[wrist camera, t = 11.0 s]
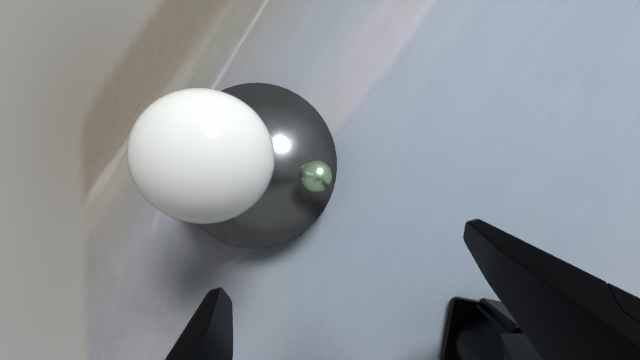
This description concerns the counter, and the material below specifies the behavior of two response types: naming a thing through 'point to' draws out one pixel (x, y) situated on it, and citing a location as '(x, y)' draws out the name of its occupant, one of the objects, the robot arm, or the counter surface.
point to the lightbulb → (200, 155)
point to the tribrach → (284, 170)
